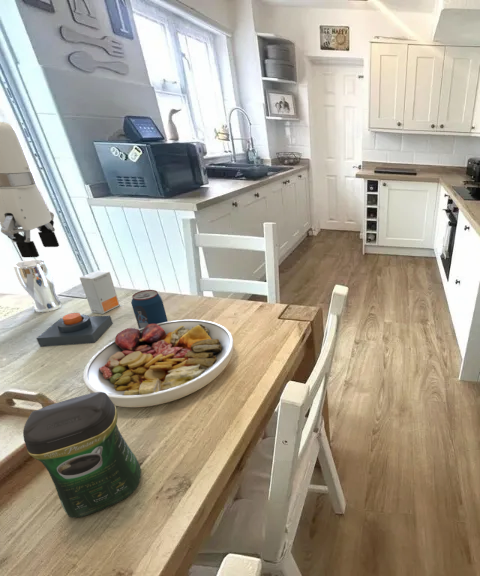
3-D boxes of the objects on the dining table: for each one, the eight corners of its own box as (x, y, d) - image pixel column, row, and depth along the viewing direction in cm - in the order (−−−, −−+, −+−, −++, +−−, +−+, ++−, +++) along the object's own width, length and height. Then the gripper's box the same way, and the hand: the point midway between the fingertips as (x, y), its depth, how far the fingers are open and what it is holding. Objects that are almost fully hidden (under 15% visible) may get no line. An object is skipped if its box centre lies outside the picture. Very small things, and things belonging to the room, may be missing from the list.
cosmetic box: (103, 314, 99) (91, 279, 94) (91, 312, 100) (78, 277, 95) (121, 305, 105) (110, 271, 100) (109, 303, 105) (97, 269, 100)
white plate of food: (259, 348, 89) (256, 324, 86) (162, 433, 63) (152, 404, 60) (174, 325, 97) (168, 302, 93) (55, 392, 71) (41, 363, 67)
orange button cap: (61, 325, 86) (59, 319, 85) (69, 318, 89) (67, 313, 88) (77, 324, 87) (75, 319, 86) (85, 318, 90) (83, 312, 89)
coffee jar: (142, 458, 59) (111, 378, 51) (142, 495, 53) (107, 413, 45) (71, 484, 54) (25, 401, 46) (62, 529, 48) (7, 443, 40)
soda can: (169, 322, 98) (160, 287, 93) (169, 334, 93) (160, 297, 88) (141, 327, 94) (130, 291, 89) (140, 340, 89) (128, 302, 84)
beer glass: (65, 300, 105) (47, 257, 98) (63, 309, 100) (44, 264, 94) (34, 305, 101) (14, 261, 94) (31, 315, 96) (9, 269, 90)
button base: (40, 346, 84) (33, 332, 82) (63, 326, 93) (58, 312, 91) (94, 342, 87) (89, 328, 85) (112, 323, 96) (108, 310, 94)
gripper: (19, 174, 82) (46, 241, 90) (-42, 185, 67) (-4, 264, 75) (55, 175, 84) (78, 241, 92) (3, 186, 69) (36, 263, 77)
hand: (41, 251), depth 83 cm, fingers open, 7 cm apart
